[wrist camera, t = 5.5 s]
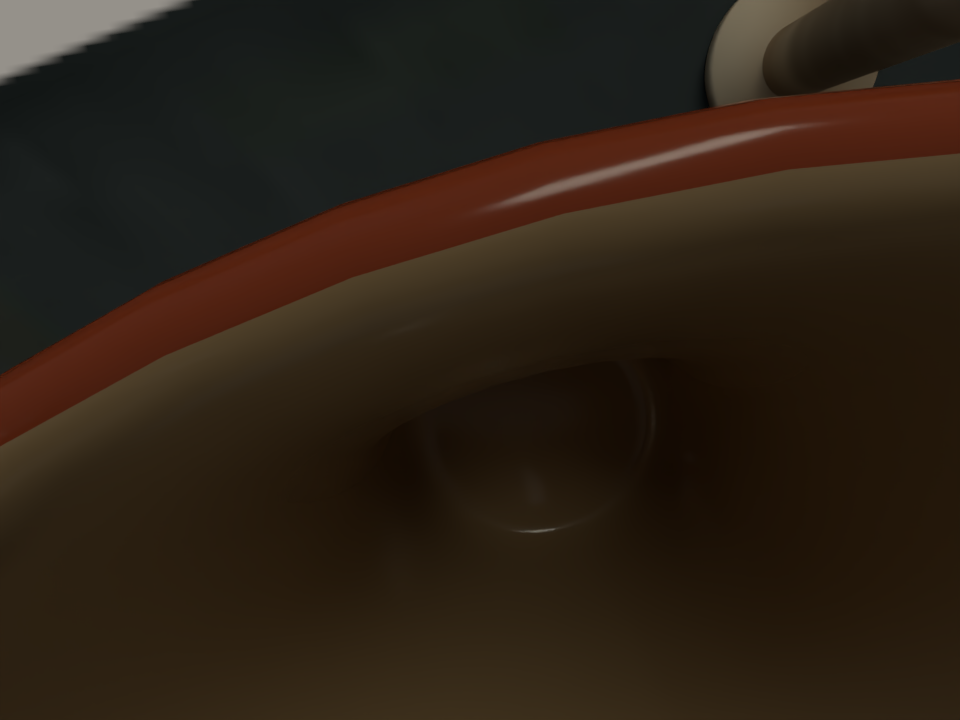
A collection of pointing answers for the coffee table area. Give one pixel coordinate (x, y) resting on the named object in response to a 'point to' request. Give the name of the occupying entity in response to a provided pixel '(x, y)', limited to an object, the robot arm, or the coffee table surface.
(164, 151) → the coffee table surface
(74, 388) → the mug
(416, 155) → the coffee table surface
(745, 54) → the gate post
